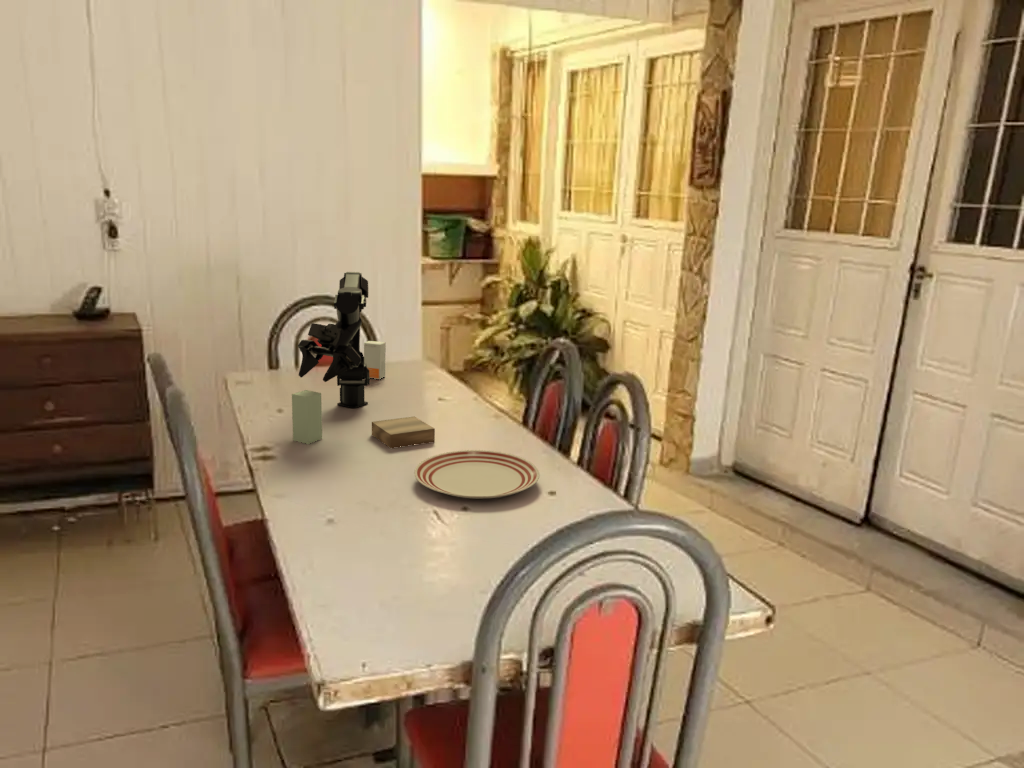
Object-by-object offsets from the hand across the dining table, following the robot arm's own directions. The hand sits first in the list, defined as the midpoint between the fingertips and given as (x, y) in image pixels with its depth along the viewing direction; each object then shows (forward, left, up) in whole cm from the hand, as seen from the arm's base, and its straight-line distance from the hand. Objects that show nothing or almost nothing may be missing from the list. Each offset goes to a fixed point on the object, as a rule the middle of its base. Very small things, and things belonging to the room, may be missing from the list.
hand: (311, 378), depth 209 cm
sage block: (-4, +7, -14) cm, 16 cm away
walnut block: (-23, -8, -14) cm, 28 cm away
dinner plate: (-55, +9, -14) cm, 57 cm away
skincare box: (+22, -55, -14) cm, 61 cm away
